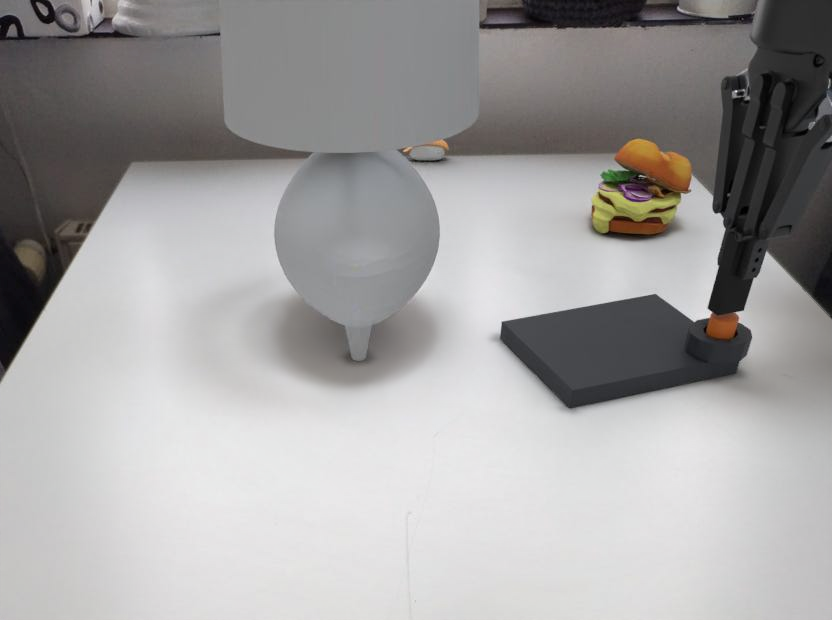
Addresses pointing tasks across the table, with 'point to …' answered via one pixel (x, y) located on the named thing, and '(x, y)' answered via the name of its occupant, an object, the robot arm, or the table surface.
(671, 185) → the cheeseburger
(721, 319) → the tare button
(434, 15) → the table lamp
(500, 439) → the table surface
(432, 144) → the sushi
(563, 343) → the scale
